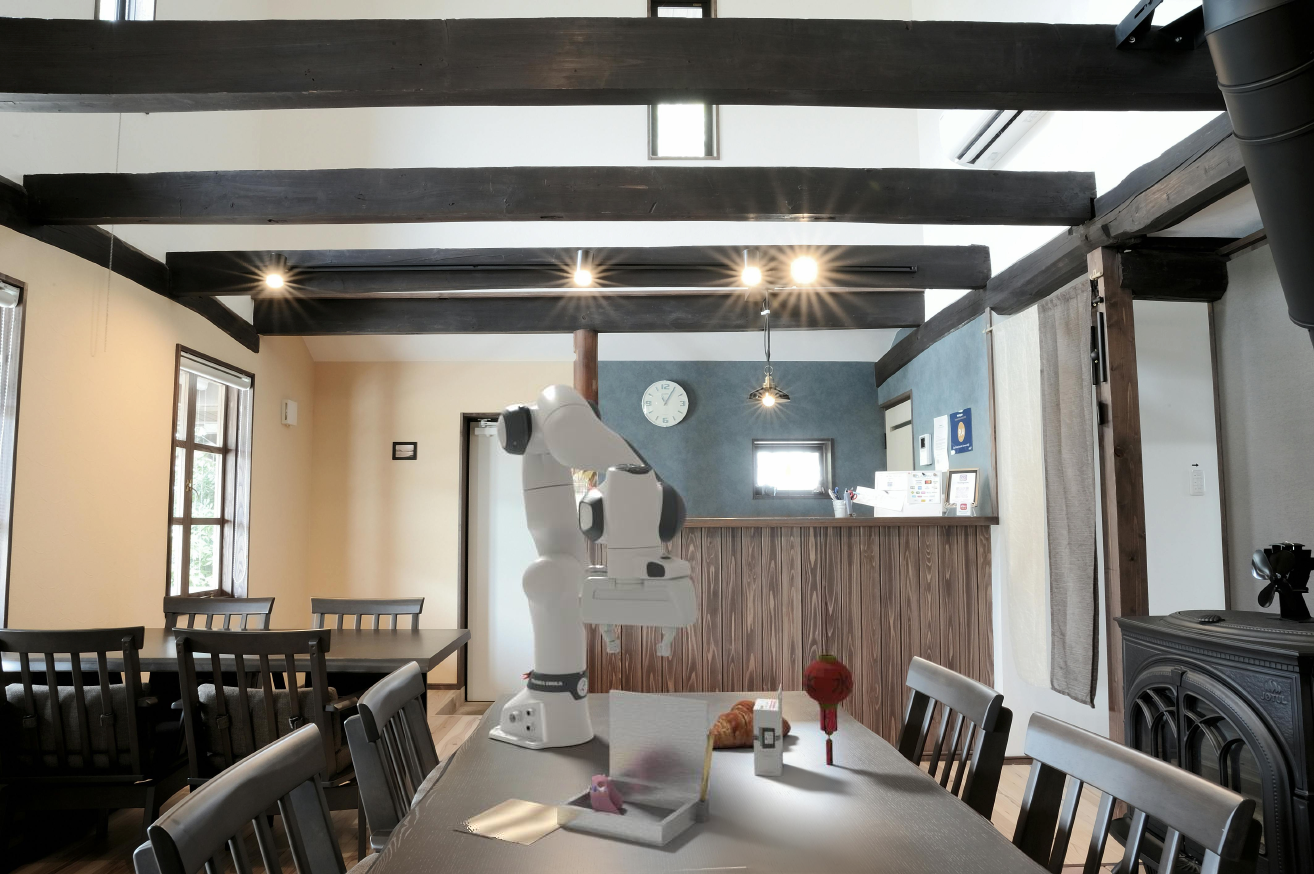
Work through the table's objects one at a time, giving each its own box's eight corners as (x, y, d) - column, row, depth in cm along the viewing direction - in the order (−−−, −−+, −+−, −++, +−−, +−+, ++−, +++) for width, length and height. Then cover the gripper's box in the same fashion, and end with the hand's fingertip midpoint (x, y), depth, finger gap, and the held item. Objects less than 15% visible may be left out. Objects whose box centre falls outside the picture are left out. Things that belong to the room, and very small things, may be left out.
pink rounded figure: (597, 813, 133) (585, 770, 134) (624, 805, 134) (613, 762, 134) (596, 838, 123) (583, 792, 124) (625, 829, 124) (613, 783, 124)
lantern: (794, 759, 158) (791, 600, 161) (835, 753, 162) (832, 597, 164) (823, 774, 150) (819, 605, 152) (866, 767, 153) (861, 602, 156)
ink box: (757, 761, 158) (756, 681, 159) (783, 762, 157) (782, 682, 158) (753, 775, 150) (752, 691, 151) (781, 777, 149) (779, 692, 150)
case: (557, 828, 126) (557, 710, 127) (612, 795, 140) (612, 689, 141) (669, 853, 116) (668, 725, 118) (717, 815, 130) (715, 701, 132)
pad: (452, 832, 124) (452, 827, 124) (511, 802, 137) (511, 797, 137) (527, 851, 118) (527, 845, 118) (582, 817, 130) (582, 812, 130)
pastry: (776, 755, 162) (775, 713, 162) (700, 748, 167) (700, 708, 167) (791, 733, 178) (790, 694, 178) (721, 727, 183) (721, 690, 183)
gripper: (570, 566, 135) (573, 653, 134) (679, 567, 124) (683, 661, 123) (593, 563, 140) (596, 647, 139) (699, 563, 130) (703, 653, 129)
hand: (638, 653), depth 131 cm, fingers open, 8 cm apart
